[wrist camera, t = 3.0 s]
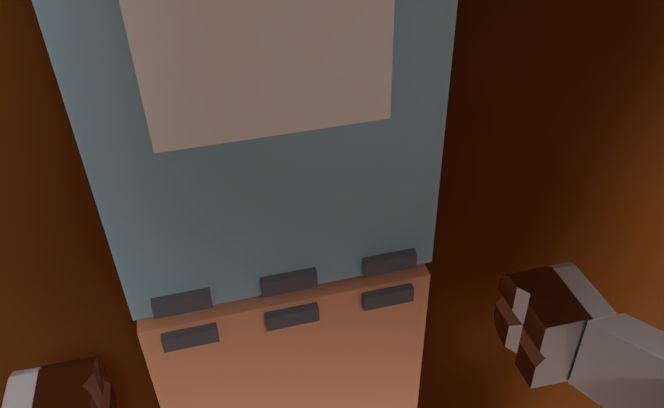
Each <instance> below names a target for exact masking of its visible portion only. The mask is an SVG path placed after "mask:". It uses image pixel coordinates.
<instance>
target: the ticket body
mask: <svg viewBox="0 0 664 408" xmlns="http://www.w3.org/2000/svg"><path fill="white" fill-rule="evenodd" d="M32 3H33V7H34V10H35V13H36V16H37V19H38V22H39V25H40V29H41V32H42V35H43V38H44V41H45V44H46V48H47V51H48V54H49V57H50V60H51V63H52V67H53V70H54V73H55V76H56V79H57V82H58V86H59V89H60V92H61V95H62V98H63V101H64V104H65V108H66V111H67V114H68V117H69V120H70V123H71V127H72V130H73V133H74V136H75V139H76V142H77V146H78V149H79V152H80V155H81V158H82V161H83V165H84V168H85V171H86V174H87V177H88V180H89V183H90V187H91V190H92V193H93V196H94V199H95V202H96V206H97V209H98V212H99V215H100V218H101V221H102V225H103V228H104V231H105V234H106V237H107V240H108V244H109V247H110V250H111V253H112V256H113V259H114V262H115V266H116V269H117V272H118V275H119V278H120V281H121V285H122V288H123V291H124V294H125V297H126V300H127V304H128V307H129V310H130V313H131V316H132V319H133V321H134V320H139V319H144V318H149V317H154V318H155V319H158V318H163V317H168V316H173V315H179V314H184V313H189V312H194V311H199V310H204V309H209V308H213V305H215V304H220V303H226V302H231V301H236V300H241V299H246V298H251V297H256V296H261V295H263V298H265V297H270V296H275V295H280V294H285V293H290V292H295V291H300V290H305V289H310V288H315V287H318V284H322V283H327V282H332V281H337V280H343V279H348V278H353V277H358V276H363V275H364V277H365V278H366V277H371V276H376V275H381V274H386V273H391V272H396V271H401V270H406V269H411V268H416V265H419V264H424V263H429V262H432V255H433V245H434V235H435V225H436V215H437V205H438V195H439V185H440V175H441V165H442V155H443V145H444V135H445V125H446V115H447V105H448V95H449V85H450V75H451V65H452V55H453V45H454V35H455V25H456V15H457V5H458V0H32Z"/></svg>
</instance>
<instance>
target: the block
mask: <svg viewBox="0 0 664 408" xmlns="http://www.w3.org/2000/svg"><path fill="white" fill-rule="evenodd" d="M429 285H430V273H429V271H428V269H427V268H426V266H425V264H419V265H416V268H411V269H406V270H401V271H396V272H391V273H386V274H381V275H376V276H371V277H366V278H365V277H364V275H363V276H358V277H353V278H348V279H343V280H337V281H332V282H327V283H322V284H318V287H315V288H310V289H305V290H300V291H295V292H290V293H285V294H280V295H275V296H270V297H265V298H263V295H261V296H256V297H251V298H246V299H241V300H236V301H231V302H226V303H220V304H215V305H213V308H209V309H204V310H199V311H194V312H189V313H184V314H179V315H173V316H168V317H163V318H158V319H155V318H154V317H149V318H144V319H139V320H137V335H138V338H139V341H140V345H141V348H142V351H143V354H144V357H145V360H146V364H147V367H148V370H149V373H150V376H151V379H152V383H153V386H154V389H155V392H156V395H157V398H158V402H159V405H160V408H417V404H418V394H419V385H420V375H421V365H422V355H423V345H424V335H425V325H426V315H427V305H428V295H429Z"/></svg>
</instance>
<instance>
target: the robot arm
mask: <svg viewBox="0 0 664 408" xmlns="http://www.w3.org/2000/svg"><path fill="white" fill-rule="evenodd" d="M498 289H499V291H500V292H501V294H502V297H501V298H500V299H499V300H498V302H497V303H496V304H495V310H494V320H495V326H496V330H497V332H498V335H499V337H500V339H501V341H502V343H503V344H504V346H505V347H506V348H508V349H510V350H511V351H513V352H515V353H517V355H516V360H515V364H516V366H517V368H518V369H519V371H520V372H521V374H522V376H523V377H524V379H525V381H526V382H527V384H528V386H529V387H530V389H531V388H536V387H541V386H546V385H551V384H556V383H561V382H565V381H569V382H568V383H569V384H570V385H572V386H573V387H575V388H576V389H577V390H579V391H580V392H582V393H583V394H585V395H586V396H587V397H589V398H590V399H592V400H593V401H595V402H596V403H597V404H599V405H600V406H602V407H603V408H664V332H663V331H661V330H659V329H657V328H655V327H652V326H650V325H648V324H646V323H644V322H642V321H640V320H638V319H636V318H633V317H631V316H629V315H627V314H625V313H622V314H617V313H616V312H615V311H614V309H613V308H612V307H611V306H610V305H609V304H608V302H607V301H606V300H605V299H604V298H603V297H602V295H601V294H600V293H599V292H598V291H597V290H596V288H595V287H594V286H593V285H592V284H591V282H590V281H589V280H588V279H587V278H586V277H585V275H584V274H583V273H582V272H581V271H580V270H579V268H578V267H577V266H576V265H575V264H573V263H572V262H570V261H569V262H564V263H559V264H554V265H550V266H547V267H545V266H544V267H539V268H534V269H530V270H525V271H520V272H515V273H511V274H506V275H503V276H502V278H501V279H500V282H499V287H498ZM104 373H105V367H104V365H103V363H102V361H101V358H100V357H98V356H95V357H90V358H84V359H78V360H72V361H67V362H61V363H55V364H49V365H44V366H40V367H35V368H29V369H23V370H18V371H13V372H12V374H11V375H10V377H9V378H8V381H7V385H6V389H5V394H4V398H3V402H2V407H1V408H117V404H116V399H115V395H114V391H113V388H112V385H111V383H109V382H107V381H105V380H104Z"/></svg>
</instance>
